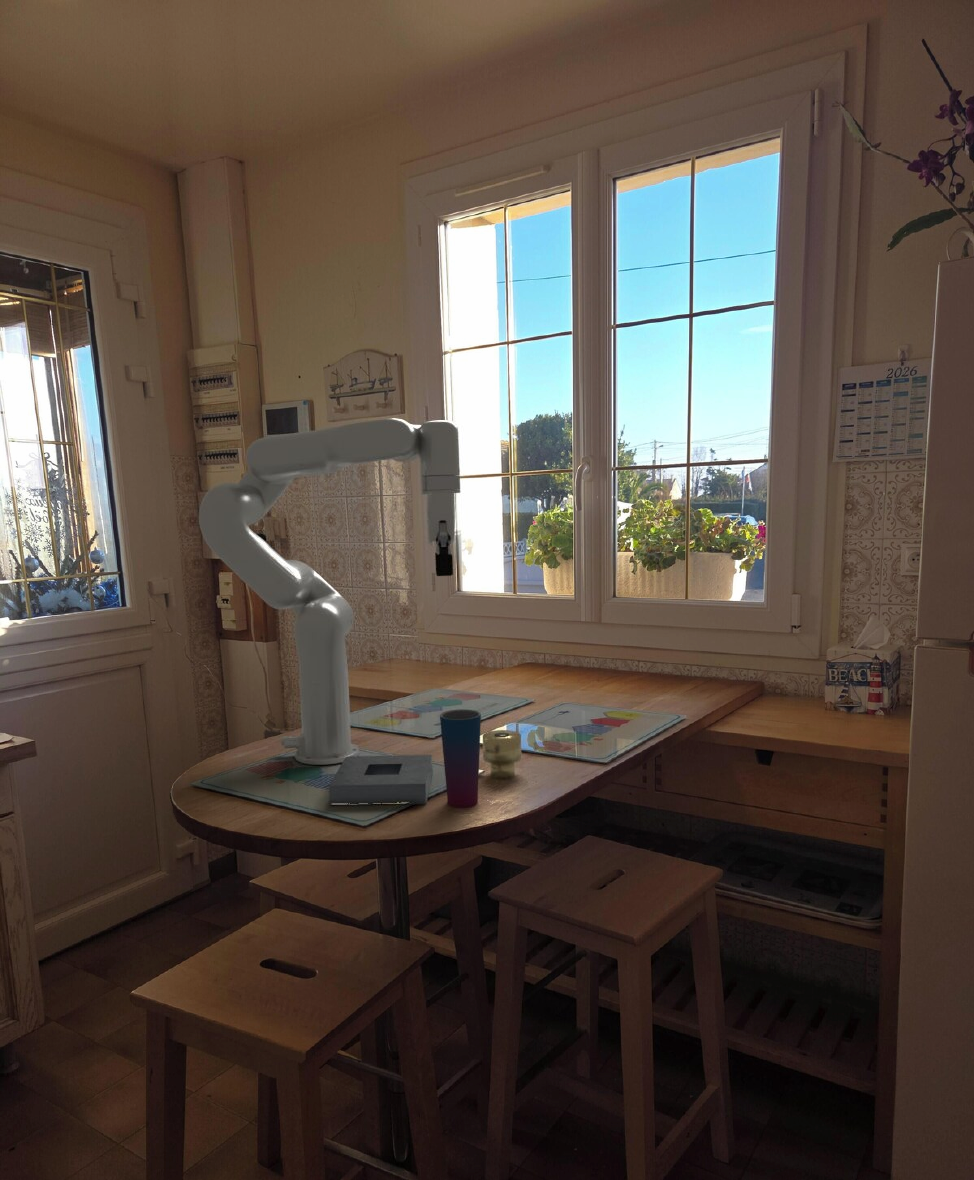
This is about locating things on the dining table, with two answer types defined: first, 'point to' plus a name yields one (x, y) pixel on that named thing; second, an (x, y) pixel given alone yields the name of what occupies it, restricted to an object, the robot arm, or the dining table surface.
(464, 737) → the cup
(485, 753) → the bushing
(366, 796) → the block
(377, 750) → the dining table surface
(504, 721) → the dining table surface
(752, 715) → the dining table surface
